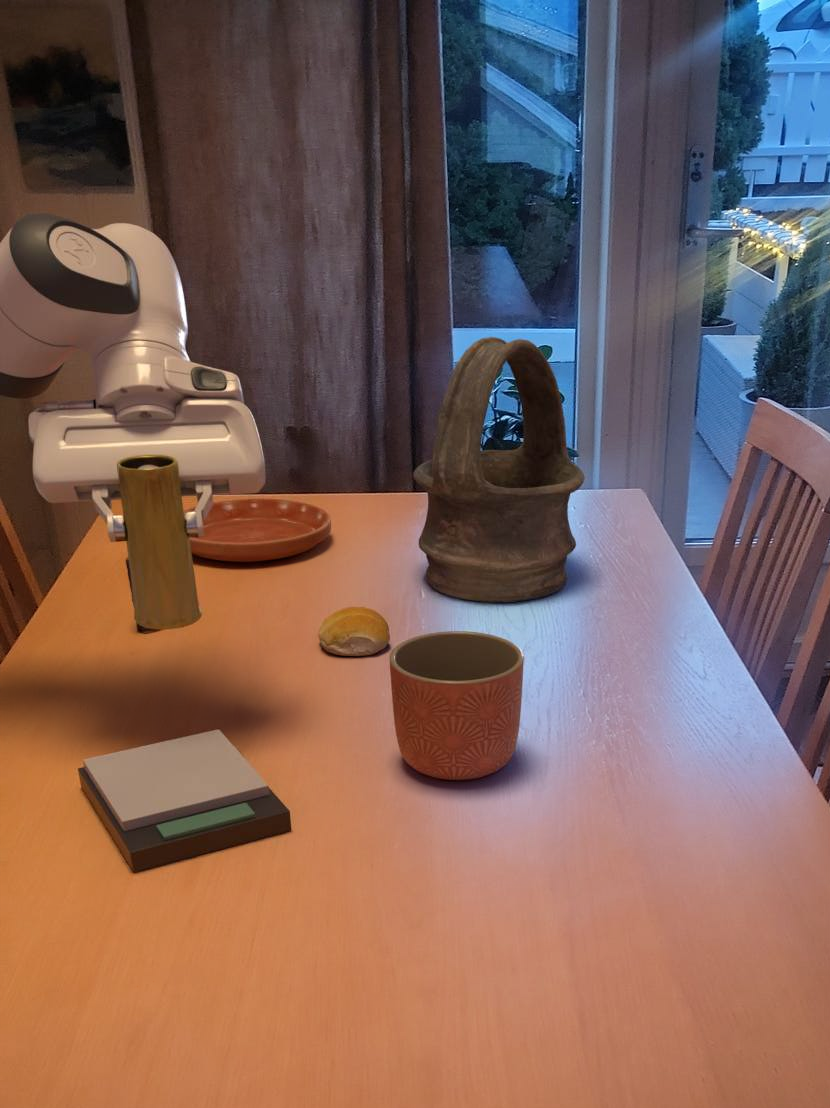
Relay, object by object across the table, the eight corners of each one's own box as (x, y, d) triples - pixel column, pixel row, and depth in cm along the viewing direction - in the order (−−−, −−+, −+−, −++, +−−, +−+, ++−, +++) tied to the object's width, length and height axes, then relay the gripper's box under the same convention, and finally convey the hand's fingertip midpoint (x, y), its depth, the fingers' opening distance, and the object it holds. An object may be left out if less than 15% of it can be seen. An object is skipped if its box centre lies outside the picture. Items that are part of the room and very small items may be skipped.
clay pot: (615, 585, 161) (631, 341, 146) (469, 621, 150) (469, 361, 135) (518, 542, 177) (522, 318, 161) (378, 571, 166) (369, 333, 150)
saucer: (201, 517, 187) (199, 493, 185) (348, 524, 184) (347, 499, 182) (146, 565, 168) (143, 539, 166) (309, 573, 165) (307, 546, 163)
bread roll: (387, 628, 148) (386, 596, 146) (391, 656, 141) (390, 623, 138) (318, 630, 147) (316, 599, 145) (319, 659, 140) (316, 626, 138)
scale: (133, 872, 101) (128, 841, 100) (81, 787, 114) (75, 758, 112) (291, 830, 107) (289, 800, 105) (225, 753, 120) (222, 725, 118)
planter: (420, 802, 111) (418, 691, 106) (375, 746, 121) (370, 642, 115) (543, 776, 116) (546, 669, 110) (490, 724, 125) (490, 623, 120)
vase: (155, 635, 110) (131, 474, 102) (122, 617, 114) (98, 460, 106) (214, 619, 113) (196, 462, 106) (181, 602, 117) (161, 449, 110)
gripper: (19, 382, 107) (28, 525, 104) (255, 374, 111) (270, 512, 108) (34, 423, 113) (42, 560, 110) (257, 414, 117) (272, 547, 114)
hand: (157, 536), depth 109 cm, fingers closed on vase, 5 cm apart
